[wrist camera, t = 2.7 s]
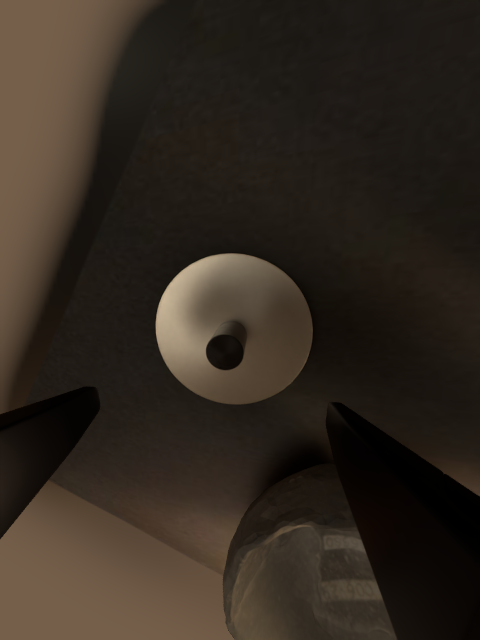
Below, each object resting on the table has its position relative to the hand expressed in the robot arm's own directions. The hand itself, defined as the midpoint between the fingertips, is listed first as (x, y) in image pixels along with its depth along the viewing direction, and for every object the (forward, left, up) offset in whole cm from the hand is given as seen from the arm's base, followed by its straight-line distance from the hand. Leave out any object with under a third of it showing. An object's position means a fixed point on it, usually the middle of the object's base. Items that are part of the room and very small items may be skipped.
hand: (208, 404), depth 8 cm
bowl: (-17, -9, -10) cm, 22 cm away
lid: (0, 0, -9) cm, 9 cm away
